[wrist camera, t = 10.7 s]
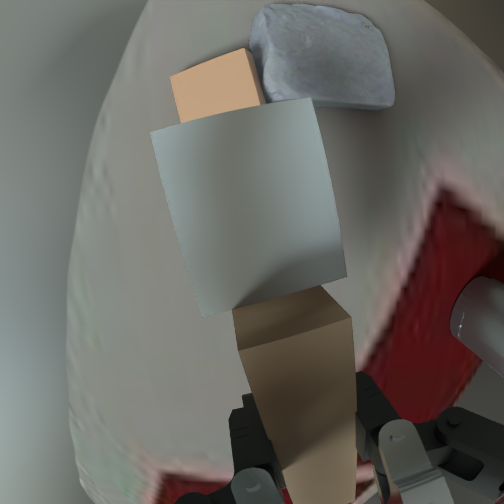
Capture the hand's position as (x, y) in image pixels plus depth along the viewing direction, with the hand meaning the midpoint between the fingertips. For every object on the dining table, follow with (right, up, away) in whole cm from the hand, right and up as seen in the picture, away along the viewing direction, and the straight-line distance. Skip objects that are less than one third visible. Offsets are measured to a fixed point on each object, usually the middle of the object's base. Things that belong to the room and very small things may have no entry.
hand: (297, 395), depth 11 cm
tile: (-3, +12, +9) cm, 16 cm away
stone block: (+4, +23, +10) cm, 25 cm away
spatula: (0, +2, 0) cm, 2 cm away
